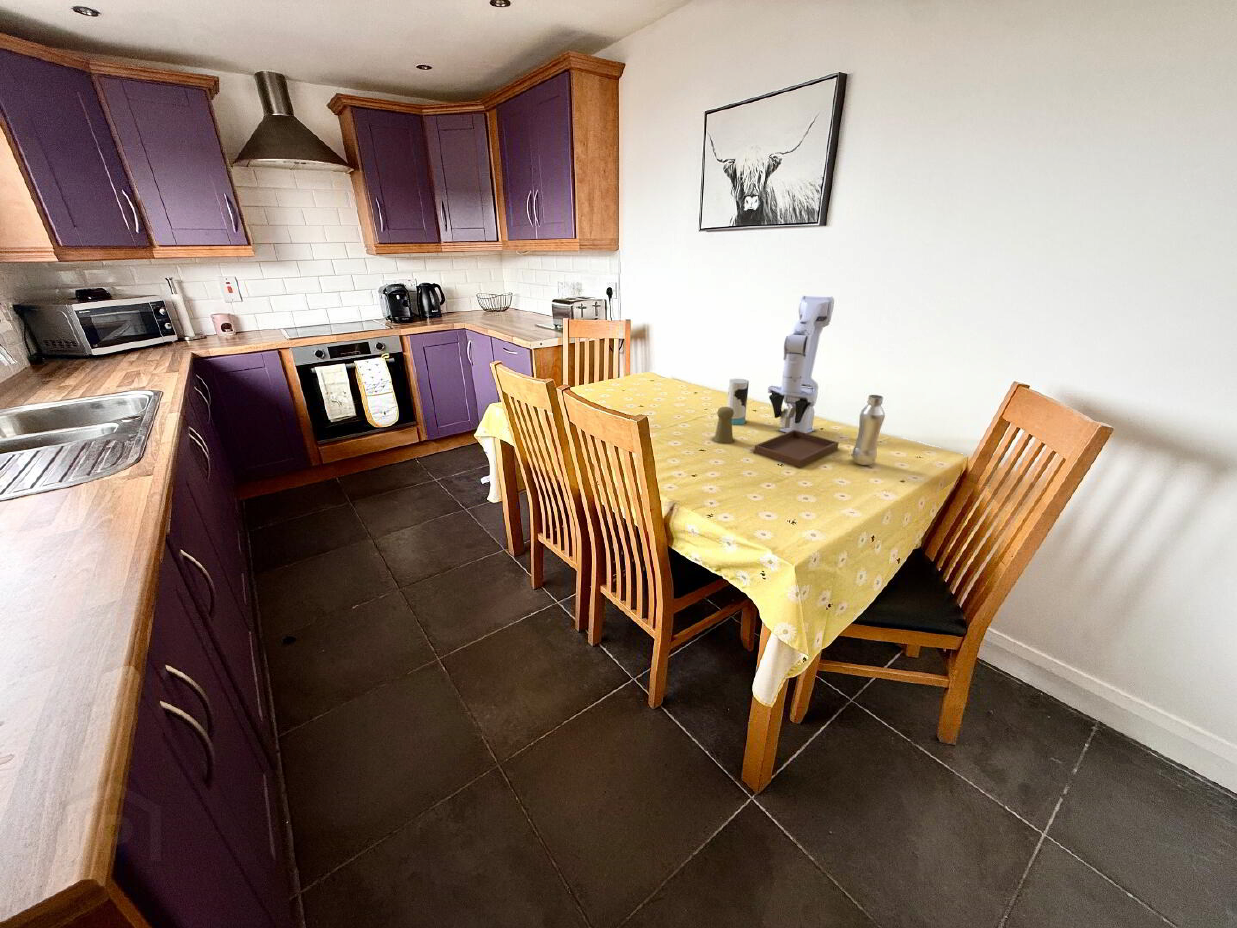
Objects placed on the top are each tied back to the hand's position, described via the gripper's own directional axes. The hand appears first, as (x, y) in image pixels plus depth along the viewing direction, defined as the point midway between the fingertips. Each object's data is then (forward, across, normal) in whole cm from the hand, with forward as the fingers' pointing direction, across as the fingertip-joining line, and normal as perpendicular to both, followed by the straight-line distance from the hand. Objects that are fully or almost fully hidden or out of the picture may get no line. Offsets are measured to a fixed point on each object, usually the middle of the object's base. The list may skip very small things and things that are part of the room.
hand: (787, 419), depth 153 cm
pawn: (+10, -17, -8) cm, 21 cm away
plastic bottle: (+10, +22, +6) cm, 25 cm away
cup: (+10, -26, +10) cm, 29 cm away
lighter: (+3, 0, 0) cm, 3 cm away
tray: (+9, +4, +1) cm, 10 cm away
